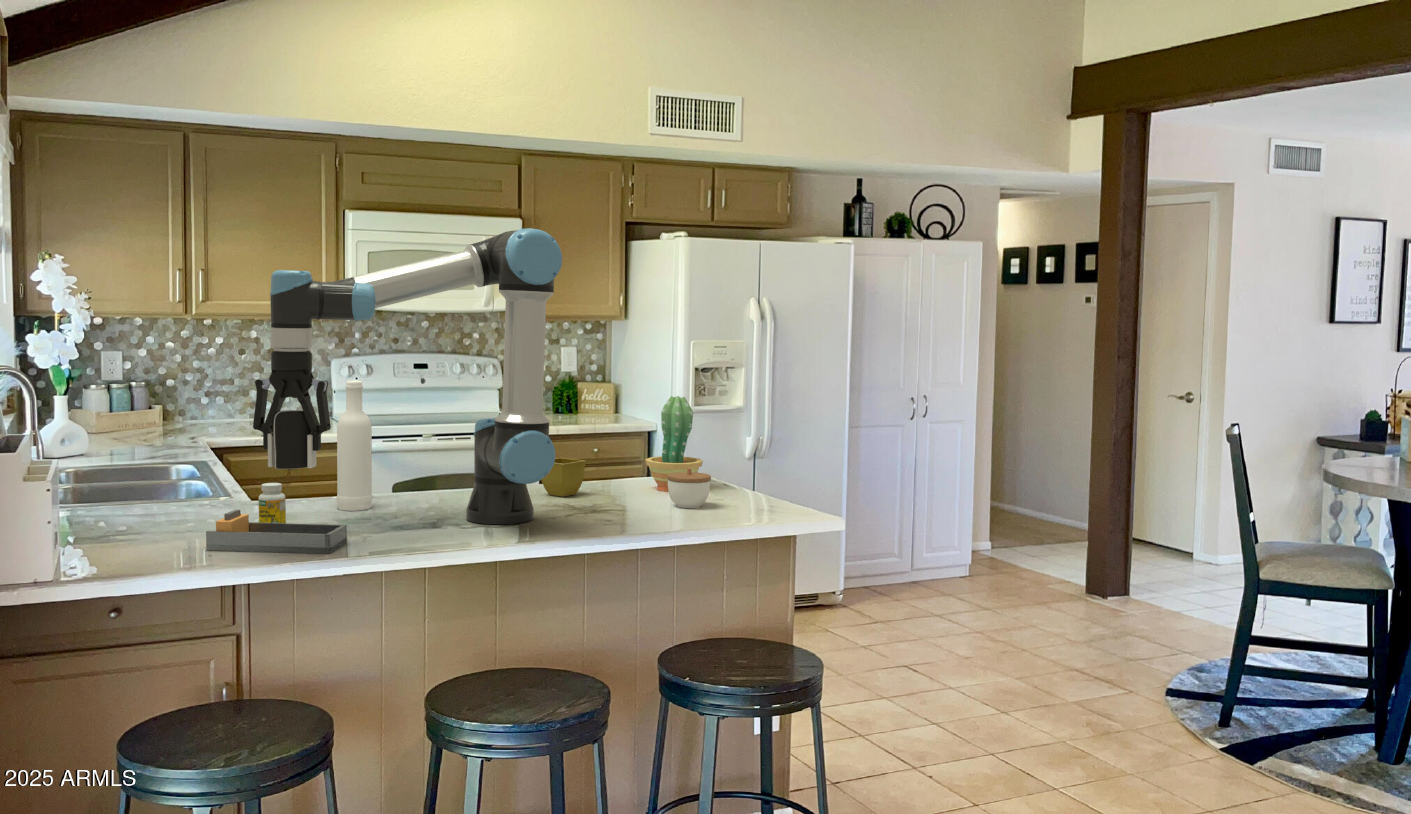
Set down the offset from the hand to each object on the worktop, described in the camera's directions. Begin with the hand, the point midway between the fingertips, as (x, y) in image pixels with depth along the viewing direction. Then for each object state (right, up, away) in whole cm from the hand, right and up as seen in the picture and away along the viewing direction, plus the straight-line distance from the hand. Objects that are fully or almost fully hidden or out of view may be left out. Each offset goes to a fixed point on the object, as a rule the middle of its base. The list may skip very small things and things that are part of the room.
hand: (292, 466), depth 225 cm
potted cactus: (+73, -11, +82) cm, 110 cm away
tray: (-3, -16, +1) cm, 16 cm away
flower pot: (+44, -11, +69) cm, 83 cm away
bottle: (-1, -12, +44) cm, 46 cm away
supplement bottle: (-11, -14, +19) cm, 26 cm away
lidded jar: (+77, -13, +57) cm, 97 cm away
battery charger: (0, 0, 0) cm, 1 cm away
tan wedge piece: (-12, -14, +1) cm, 19 cm away
